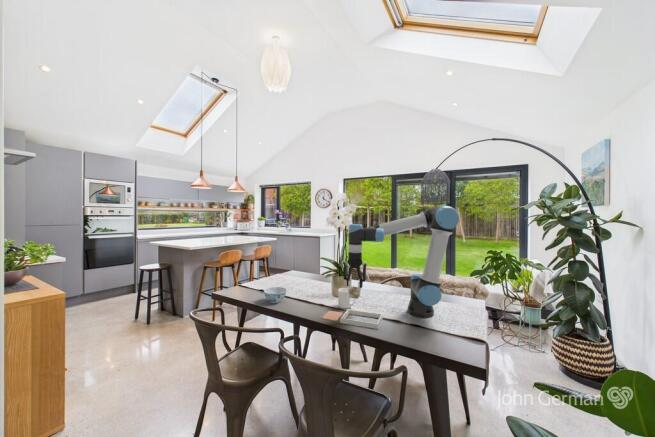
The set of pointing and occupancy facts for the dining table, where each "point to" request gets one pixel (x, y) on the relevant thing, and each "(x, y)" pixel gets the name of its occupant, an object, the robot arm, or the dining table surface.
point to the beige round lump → (353, 292)
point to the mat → (332, 315)
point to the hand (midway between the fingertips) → (354, 292)
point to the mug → (344, 298)
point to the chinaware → (275, 294)
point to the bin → (361, 323)
